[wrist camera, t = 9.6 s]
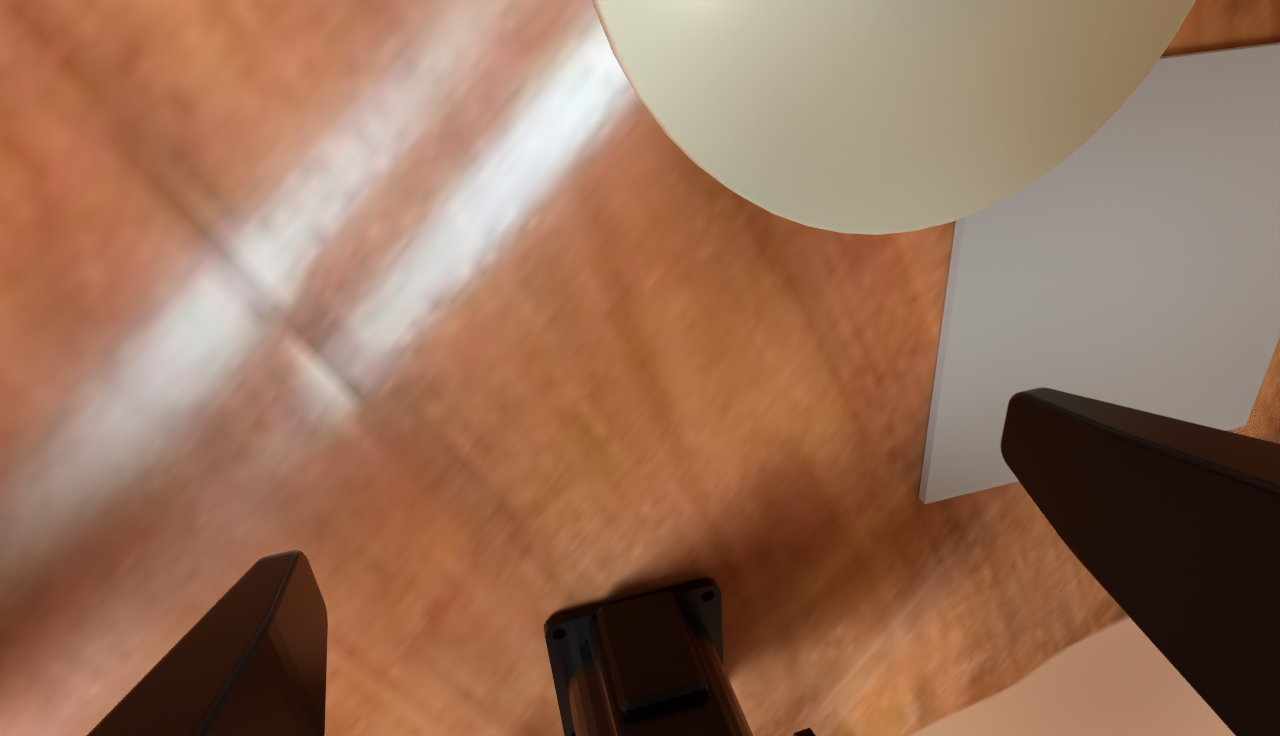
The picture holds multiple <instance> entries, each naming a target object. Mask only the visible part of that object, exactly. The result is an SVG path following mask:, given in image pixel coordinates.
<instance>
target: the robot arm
mask: <svg viewBox="0 0 1280 736" xmlns="http://www.w3.org/2000/svg"><path fill="white" fill-rule="evenodd" d="M1000 447H1001V453H1002V457H1003V459H1004V461H1005V463H1006V464H1007V466H1008V467H1009V468H1010V470H1011V471H1012V472H1013V474H1014V475H1015V476H1016V478H1017V479H1018V480H1019V482H1020V483H1021V484H1022V486H1023V487H1024V488H1025V490H1026V491H1027V493H1028V494H1029V495H1030V497H1031V498H1032V499H1033V501H1034V502H1035V503H1036V505H1037V506H1038V507H1039V509H1040V510H1041V511H1042V513H1043V514H1044V516H1045V517H1046V518H1047V520H1048V521H1049V522H1050V524H1051V525H1052V526H1053V528H1054V529H1055V530H1056V532H1057V533H1058V534H1059V536H1060V537H1061V538H1062V540H1063V541H1064V542H1065V544H1066V545H1067V546H1068V547H1069V549H1070V550H1071V551H1072V553H1073V554H1074V555H1075V556H1076V557H1077V558H1078V560H1079V561H1080V562H1081V563H1082V564H1083V565H1084V567H1085V568H1086V569H1087V570H1088V571H1089V572H1090V573H1091V574H1092V576H1093V577H1094V578H1095V579H1096V580H1097V581H1098V582H1099V583H1100V585H1101V586H1102V587H1103V588H1104V589H1105V590H1106V591H1107V592H1108V593H1109V595H1110V596H1111V597H1112V598H1113V599H1114V600H1115V601H1116V602H1117V604H1118V605H1119V606H1120V607H1121V608H1122V609H1123V610H1124V611H1125V612H1126V614H1127V615H1128V616H1129V617H1130V618H1131V619H1132V620H1133V621H1134V622H1135V624H1136V625H1137V626H1138V627H1139V628H1140V629H1141V630H1142V631H1143V632H1144V634H1145V635H1146V636H1147V637H1148V638H1149V639H1150V640H1151V641H1152V643H1153V644H1154V645H1155V646H1156V647H1157V648H1158V649H1159V650H1160V652H1161V653H1162V654H1163V655H1164V656H1165V657H1166V658H1167V659H1168V660H1169V662H1170V663H1171V664H1172V665H1173V666H1174V667H1175V668H1176V669H1177V671H1179V673H1180V674H1181V675H1182V676H1183V677H1184V678H1185V679H1186V681H1187V682H1188V683H1189V684H1190V685H1191V686H1192V687H1193V688H1194V690H1195V691H1196V692H1197V693H1198V694H1199V695H1200V696H1201V697H1202V699H1203V700H1204V701H1205V702H1206V703H1207V704H1208V705H1209V706H1210V707H1211V709H1213V711H1214V712H1215V713H1216V714H1217V715H1218V716H1219V717H1220V719H1221V720H1222V721H1223V722H1224V723H1225V724H1226V725H1227V726H1228V728H1229V729H1230V730H1231V731H1232V732H1233V733H1234V734H1235V735H1236V736H1280V444H1278V443H1274V442H1270V441H1266V440H1262V439H1258V438H1254V437H1249V436H1245V435H1241V434H1237V433H1233V432H1229V431H1225V430H1220V429H1216V428H1212V427H1208V426H1204V425H1200V424H1196V423H1191V422H1187V421H1183V420H1179V419H1175V418H1171V417H1166V416H1162V415H1158V414H1154V413H1150V412H1146V411H1142V410H1137V409H1133V408H1129V407H1125V406H1121V405H1117V404H1113V403H1108V402H1104V401H1100V400H1096V399H1092V398H1088V397H1084V396H1079V395H1075V394H1071V393H1067V392H1063V391H1059V390H1055V389H1050V388H1045V387H1042V388H1035V389H1030V390H1026V391H1021V392H1018V393H1016V394H1014V395H1013V396H1012V397H1011V399H1010V400H1009V403H1008V407H1007V412H1006V417H1005V422H1004V427H1003V432H1002V438H1001V444H1000ZM707 591H709V592H707ZM705 592H707V593H705ZM704 593H705V594H704ZM327 629H328V621H327V611H326V606H325V603H324V600H323V597H322V595H321V592H320V590H319V587H318V585H317V582H316V579H315V577H314V574H313V572H312V569H311V567H310V564H309V562H308V559H307V557H306V556H305V555H304V553H303V552H301V551H299V550H292V551H288V552H283V553H278V554H274V555H269V556H265V557H263V558H261V559H259V560H258V561H257V562H256V563H255V564H254V565H253V566H252V567H251V568H250V569H249V570H248V571H247V572H246V573H245V574H244V575H243V576H242V577H241V578H240V579H239V580H238V581H237V582H236V583H235V584H234V585H233V586H232V587H231V589H230V590H229V591H228V592H227V593H226V594H225V595H224V596H223V597H222V598H221V599H220V600H219V601H218V602H217V603H216V604H215V605H214V606H213V607H212V608H211V609H210V610H209V611H208V612H207V613H206V614H205V615H204V616H203V617H202V618H201V619H200V620H199V621H198V622H197V623H196V624H195V625H194V626H193V627H192V628H191V629H190V630H189V631H188V633H187V634H186V635H185V636H184V637H183V638H182V639H181V640H180V641H179V642H178V643H177V644H176V645H175V646H174V647H173V648H172V649H171V650H170V651H169V652H168V653H167V654H166V655H165V656H164V657H163V658H162V659H161V660H160V661H159V662H158V663H157V664H156V665H155V666H154V667H153V668H152V669H151V670H150V671H149V672H148V673H147V674H146V675H145V676H144V678H143V679H142V680H141V681H140V682H139V683H138V684H137V685H136V686H135V687H134V688H133V689H132V690H131V691H130V692H129V693H128V694H127V695H126V696H125V697H124V698H123V699H122V700H121V701H120V702H119V703H118V704H117V705H116V706H115V707H114V708H113V709H112V710H111V711H110V712H109V713H108V714H107V715H106V716H105V717H104V718H103V719H102V720H101V722H100V723H99V724H98V725H97V726H96V727H95V728H94V729H93V730H92V731H91V732H90V733H89V734H88V735H87V736H324V734H325V700H326V664H327ZM557 629H561V630H559V631H555V630H557ZM544 633H545V638H546V643H547V649H548V654H549V659H550V664H551V669H552V674H553V679H554V684H555V689H556V694H557V699H558V704H559V709H560V714H561V719H562V725H563V730H564V735H565V736H753V734H752V732H751V730H750V727H749V725H748V723H747V720H746V718H745V716H744V714H743V711H742V709H741V707H740V704H739V702H738V700H737V697H736V695H735V693H734V691H733V688H732V686H731V684H730V681H729V679H728V677H727V674H726V672H725V670H724V668H723V648H722V616H721V592H720V589H719V587H718V585H717V583H716V581H714V580H713V579H710V578H706V579H700V580H696V581H692V582H688V583H684V584H680V585H676V586H672V587H668V588H664V589H660V590H656V591H652V592H648V593H644V594H640V595H636V596H632V597H628V598H624V599H620V600H616V601H612V602H608V603H604V604H600V605H596V606H592V607H588V608H584V609H580V610H576V611H572V612H568V613H564V614H560V615H556V616H554V617H551V618H550V619H548V620H547V621H546V623H545V624H544ZM793 736H815V734H814V733H813V731H812V730H811V729H810V728H807V729H804V730H801V731H798V732H795V733H794V734H793Z"/></svg>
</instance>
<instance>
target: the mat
mask: <svg viewBox="0 0 1280 736" xmlns="http://www.w3.org/2000/svg"><path fill="white" fill-rule="evenodd" d="M1279 338H1280V42H1276V43H1268V44H1260V45H1252V46H1244V47H1235V48H1227V49H1219V50H1211V51H1203V52H1195V53H1186V54H1178V55H1170V56H1162V57H1160V58H1159V60H1158V61H1157V63H1156V64H1155V65H1154V67H1153V68H1152V70H1151V71H1150V72H1149V74H1148V75H1147V77H1146V78H1145V79H1144V80H1143V81H1142V83H1141V84H1140V85H1139V86H1138V87H1137V88H1136V90H1135V91H1134V92H1133V93H1132V94H1131V96H1130V97H1129V98H1128V99H1127V100H1126V101H1125V103H1124V104H1123V105H1122V106H1121V107H1120V109H1119V110H1118V111H1117V112H1116V113H1115V114H1114V115H1113V116H1112V117H1111V118H1110V119H1109V120H1108V121H1107V122H1106V123H1105V124H1104V125H1103V126H1102V127H1101V128H1100V129H1099V130H1098V131H1097V132H1096V133H1095V134H1094V135H1093V136H1092V137H1091V138H1090V139H1089V140H1088V141H1087V142H1086V143H1085V144H1083V145H1082V146H1081V147H1080V148H1078V149H1077V150H1076V151H1075V152H1074V153H1072V154H1071V155H1070V156H1069V157H1067V158H1066V159H1065V160H1064V161H1063V162H1061V163H1060V164H1059V165H1058V166H1057V167H1055V168H1054V169H1053V170H1051V171H1050V172H1048V173H1047V174H1045V175H1044V176H1042V177H1041V178H1039V179H1038V180H1036V181H1035V182H1033V183H1032V184H1030V185H1029V186H1027V187H1026V188H1024V189H1023V190H1021V191H1020V192H1018V193H1016V194H1014V195H1012V196H1010V197H1008V198H1006V199H1004V200H1002V201H1000V202H998V203H996V204H995V205H993V206H991V207H989V208H987V209H985V210H982V211H979V212H977V213H974V214H971V215H969V216H966V217H964V218H961V219H958V220H956V224H955V231H954V239H953V246H952V253H951V261H950V268H949V276H948V283H947V290H946V298H945V305H944V313H943V320H942V327H941V335H940V342H939V350H938V357H937V364H936V372H935V379H934V387H933V394H932V401H931V409H930V416H929V424H928V431H927V438H926V446H925V453H924V461H923V468H922V475H921V483H920V490H919V499H920V500H921V501H922V502H923V503H924V504H928V503H932V502H936V501H941V500H945V499H949V498H953V497H957V496H961V495H965V494H969V493H973V492H977V491H982V490H986V489H990V488H994V487H998V486H1002V485H1006V484H1010V483H1014V482H1018V481H1019V480H1018V479H1017V478H1016V476H1015V475H1014V474H1013V472H1012V471H1011V470H1010V468H1009V467H1008V466H1007V464H1006V463H1005V461H1004V459H1003V457H1002V453H1001V447H1000V444H1001V438H1002V432H1003V427H1004V422H1005V417H1006V412H1007V407H1008V403H1009V400H1010V399H1011V397H1012V396H1013V395H1014V394H1016V393H1018V392H1021V391H1026V390H1030V389H1035V388H1042V387H1045V388H1050V389H1055V390H1059V391H1063V392H1067V393H1071V394H1075V395H1079V396H1084V397H1088V398H1092V399H1096V400H1100V401H1104V402H1108V403H1113V404H1117V405H1121V406H1125V407H1129V408H1133V409H1137V410H1142V411H1146V412H1150V413H1154V414H1158V415H1162V416H1166V417H1171V418H1175V419H1179V420H1183V421H1187V422H1191V423H1196V424H1200V425H1204V426H1208V427H1212V428H1216V429H1220V430H1225V431H1227V430H1232V429H1236V428H1240V427H1244V426H1246V424H1247V421H1248V418H1249V416H1250V413H1251V411H1252V408H1253V405H1254V403H1255V400H1256V397H1257V395H1258V392H1259V390H1260V387H1261V384H1262V382H1263V379H1264V377H1265V374H1266V371H1267V369H1268V366H1269V364H1270V361H1271V358H1272V356H1273V353H1274V351H1275V348H1276V345H1277V343H1278V340H1279Z"/></svg>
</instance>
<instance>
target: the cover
mask: <svg viewBox="0 0 1280 736" xmlns="http://www.w3.org/2000/svg"><path fill="white" fill-rule="evenodd" d="M1195 2H1196V0H593V4H594V7H595V9H596V12H597V14H598V17H599V19H600V22H601V24H602V27H603V29H604V32H605V34H606V36H607V39H608V41H609V44H610V46H611V49H612V51H613V54H614V56H615V57H616V59H617V61H618V63H619V65H620V66H621V68H622V70H623V72H624V74H625V75H626V77H627V79H628V81H629V82H630V84H631V86H632V88H633V90H634V91H635V93H636V95H637V97H638V98H639V99H640V101H641V102H642V103H643V105H644V106H645V108H646V109H647V110H648V112H649V113H650V114H651V116H652V117H653V118H654V120H655V121H656V122H657V124H658V125H659V126H660V128H661V129H662V130H663V132H664V133H665V134H666V135H667V136H668V137H669V138H670V139H671V140H672V141H673V142H674V143H675V144H676V145H677V146H678V147H679V148H680V149H681V150H682V151H683V152H684V153H685V154H686V155H687V156H688V157H689V158H690V159H691V160H692V161H693V162H694V163H695V164H696V165H698V166H699V167H700V168H701V169H703V170H704V171H705V172H707V173H708V174H709V175H711V176H712V177H713V178H715V179H716V180H717V181H719V182H720V183H721V184H722V185H724V186H725V187H727V188H728V189H730V190H732V191H733V192H735V193H736V194H738V195H740V196H741V197H743V198H745V199H747V200H749V201H751V202H752V203H754V204H756V205H758V206H760V207H762V208H763V209H765V210H767V211H769V212H771V213H772V214H775V215H778V216H781V217H783V218H786V219H789V220H792V221H795V222H797V223H800V224H803V225H806V226H809V227H814V228H819V229H824V230H830V231H835V232H840V233H852V234H874V235H880V234H890V233H901V232H911V231H917V230H921V229H925V228H930V227H934V226H938V225H942V224H946V223H950V222H953V221H956V220H958V219H961V218H964V217H966V216H969V215H971V214H974V213H977V212H979V211H982V210H985V209H987V208H989V207H991V206H993V205H995V204H996V203H998V202H1000V201H1002V200H1004V199H1006V198H1008V197H1010V196H1012V195H1014V194H1016V193H1018V192H1020V191H1021V190H1023V189H1024V188H1026V187H1027V186H1029V185H1030V184H1032V183H1033V182H1035V181H1036V180H1038V179H1039V178H1041V177H1042V176H1044V175H1045V174H1047V173H1048V172H1050V171H1051V170H1053V169H1054V168H1055V167H1057V166H1058V165H1059V164H1060V163H1061V162H1063V161H1064V160H1065V159H1066V158H1067V157H1069V156H1070V155H1071V154H1072V153H1074V152H1075V151H1076V150H1077V149H1078V148H1080V147H1081V146H1082V145H1083V144H1085V143H1086V142H1087V141H1088V140H1089V139H1090V138H1091V137H1092V136H1093V135H1094V134H1095V133H1096V132H1097V131H1098V130H1099V129H1100V128H1101V127H1102V126H1103V125H1104V124H1105V123H1106V122H1107V121H1108V120H1109V119H1110V118H1111V117H1112V116H1113V115H1114V114H1115V113H1116V112H1117V111H1118V110H1119V109H1120V107H1121V106H1122V105H1123V104H1124V103H1125V101H1126V100H1127V99H1128V98H1129V97H1130V96H1131V94H1132V93H1133V92H1134V91H1135V90H1136V88H1137V87H1138V86H1139V85H1140V84H1141V83H1142V81H1143V80H1144V79H1145V78H1146V77H1147V75H1148V74H1149V72H1150V71H1151V70H1152V68H1153V67H1154V65H1155V64H1156V63H1157V61H1158V60H1159V58H1160V57H1161V55H1162V54H1163V53H1164V51H1165V50H1166V48H1167V47H1168V46H1169V44H1170V43H1171V41H1172V40H1173V39H1174V37H1175V36H1176V34H1177V32H1178V30H1179V29H1180V27H1181V25H1182V24H1183V22H1184V20H1185V19H1186V17H1187V15H1188V14H1189V12H1190V10H1191V9H1192V7H1193V5H1194V3H1195Z"/></svg>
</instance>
